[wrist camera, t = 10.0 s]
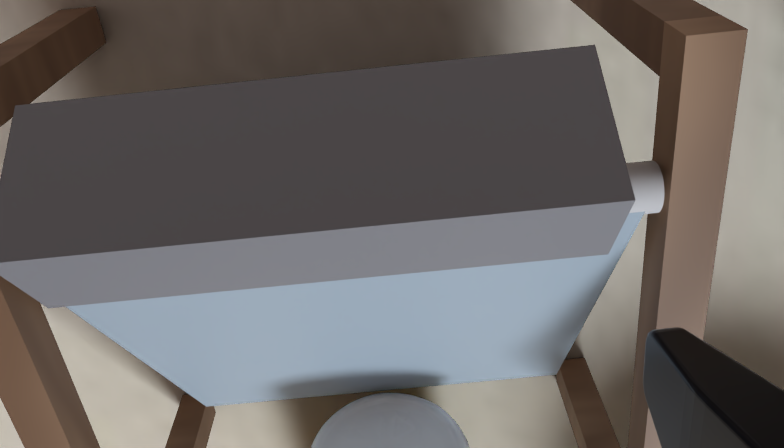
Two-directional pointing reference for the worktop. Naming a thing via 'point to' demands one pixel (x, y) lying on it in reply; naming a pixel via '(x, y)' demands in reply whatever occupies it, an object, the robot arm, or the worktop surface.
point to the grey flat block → (331, 222)
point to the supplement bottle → (390, 425)
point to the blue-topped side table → (579, 393)
